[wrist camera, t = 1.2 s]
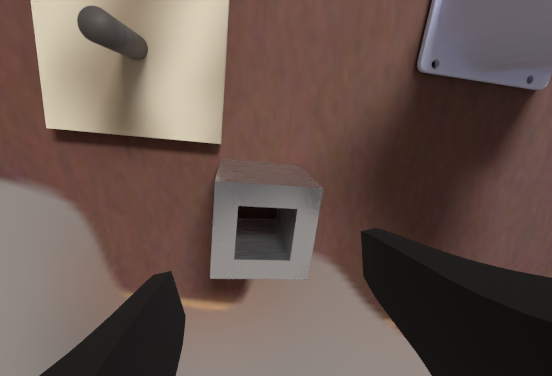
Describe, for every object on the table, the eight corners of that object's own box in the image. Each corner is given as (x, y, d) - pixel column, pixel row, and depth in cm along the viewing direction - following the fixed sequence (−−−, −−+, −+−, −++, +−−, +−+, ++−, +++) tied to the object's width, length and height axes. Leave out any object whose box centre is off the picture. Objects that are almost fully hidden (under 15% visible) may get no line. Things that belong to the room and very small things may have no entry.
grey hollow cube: (298, 164, 18) (323, 188, 13) (288, 234, 19) (307, 279, 14) (220, 158, 17) (214, 181, 12) (216, 231, 18) (209, 278, 13)
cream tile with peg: (231, -33, 14) (229, -100, 9) (221, 142, 17) (216, 157, 12) (33, -73, 13) (-88, -178, 8) (55, 126, 15) (-26, 137, 10)
